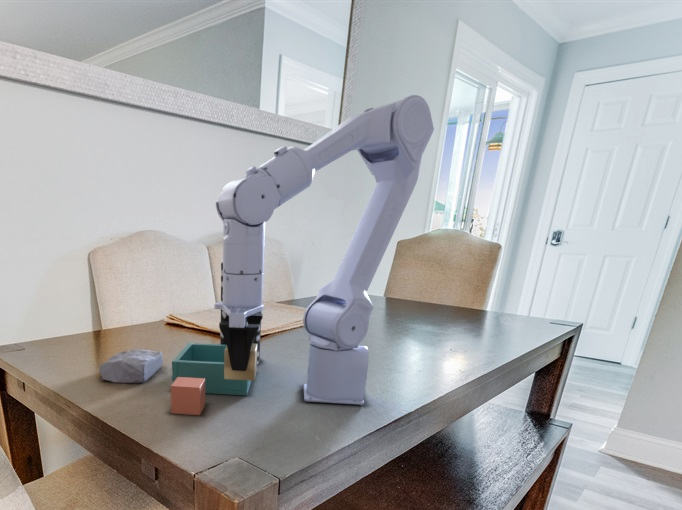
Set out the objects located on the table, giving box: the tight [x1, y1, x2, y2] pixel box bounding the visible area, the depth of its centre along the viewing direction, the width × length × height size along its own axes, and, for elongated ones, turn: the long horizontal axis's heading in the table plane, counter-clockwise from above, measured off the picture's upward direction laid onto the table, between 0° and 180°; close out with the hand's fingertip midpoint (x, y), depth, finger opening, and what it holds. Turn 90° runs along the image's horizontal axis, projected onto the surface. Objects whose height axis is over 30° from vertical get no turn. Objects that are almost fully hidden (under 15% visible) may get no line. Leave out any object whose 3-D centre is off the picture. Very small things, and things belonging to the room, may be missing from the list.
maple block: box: [224, 344, 258, 382], centre depth 70 cm, size 4×4×4 cm
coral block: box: [170, 377, 206, 416], centre depth 72 cm, size 4×4×4 cm
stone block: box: [98, 348, 164, 384], centre depth 89 cm, size 12×5×10 cm
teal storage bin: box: [171, 342, 252, 397], centre depth 84 cm, size 13×13×5 cm
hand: (241, 365), depth 70 cm, fingers closed on maple block, 4 cm apart
